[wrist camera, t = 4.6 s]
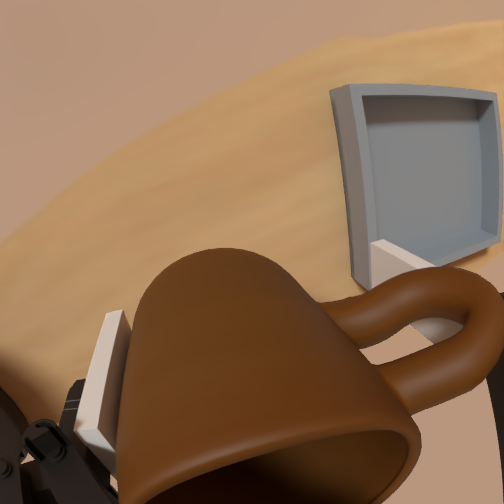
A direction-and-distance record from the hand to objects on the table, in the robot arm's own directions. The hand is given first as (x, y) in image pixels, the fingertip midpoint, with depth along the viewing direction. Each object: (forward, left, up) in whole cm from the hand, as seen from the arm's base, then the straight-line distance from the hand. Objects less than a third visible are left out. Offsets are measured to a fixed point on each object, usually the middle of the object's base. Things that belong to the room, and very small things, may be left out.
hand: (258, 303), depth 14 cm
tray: (+18, +2, -9) cm, 20 cm away
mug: (0, 0, -1) cm, 1 cm away
